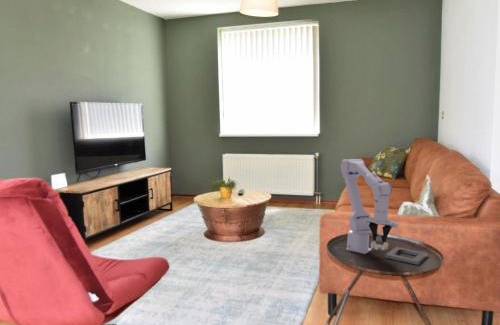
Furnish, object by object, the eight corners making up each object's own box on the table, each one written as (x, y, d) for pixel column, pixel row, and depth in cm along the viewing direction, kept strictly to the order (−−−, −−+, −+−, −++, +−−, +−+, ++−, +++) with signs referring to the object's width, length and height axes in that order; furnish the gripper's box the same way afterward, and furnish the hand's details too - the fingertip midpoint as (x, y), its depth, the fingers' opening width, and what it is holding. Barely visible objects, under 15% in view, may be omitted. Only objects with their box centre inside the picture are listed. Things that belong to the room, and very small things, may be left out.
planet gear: (368, 247, 178) (368, 235, 178) (374, 243, 184) (375, 231, 183) (384, 251, 174) (385, 238, 173) (390, 246, 180) (390, 234, 179)
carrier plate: (385, 257, 183) (385, 254, 183) (396, 249, 194) (396, 246, 194) (417, 265, 174) (417, 261, 174) (427, 256, 185) (427, 253, 185)
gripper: (361, 209, 178) (360, 239, 180) (394, 214, 169) (393, 246, 171) (367, 206, 184) (366, 236, 186) (400, 211, 175) (398, 242, 177)
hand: (379, 240), depth 179 cm, fingers closed on planet gear, 4 cm apart
